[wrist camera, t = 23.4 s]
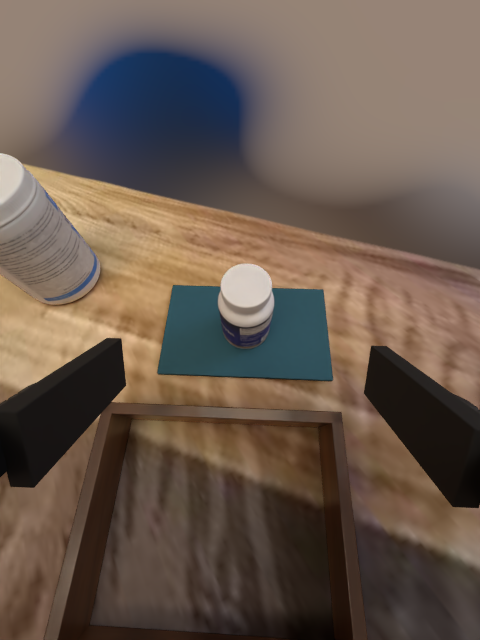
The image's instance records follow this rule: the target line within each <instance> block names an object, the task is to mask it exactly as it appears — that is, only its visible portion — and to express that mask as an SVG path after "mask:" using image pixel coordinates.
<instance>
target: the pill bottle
mask: <svg viewBox="0 0 480 640" xmlns="http://www.w3.org/2000/svg"><path fill="white" fill-rule="evenodd" d="M220 286H221V291H220V293H219V296H218V308H219V313H220V319H221V324H222V329H223V334H224V336H225V338H226V339H227V341H228V342H229V343H230V344H232V345H233V346H235V347H237V348H241V349H250V348H254V347H257V346H258V345H260V344H261V343H262V342H263V341H264V340H265V339H266V337H267V335H268V333H269V329H270V324H271V319H272V314H273V309H274V296H273V293H272V282H271V278H270V276H269V275H268V273H267V272H266V271H265V270H264V269H262V268H261V267H259V266H257V265H254V264H239V265H236V266H234V267H232V268H230V269H229V270H228V271H227V272H226V273H225V274H224V276H223V277H222V280H221V285H220Z"/></svg>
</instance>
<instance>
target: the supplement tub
mask: <svg viewBox="0 0 480 640" xmlns="http://www.w3.org/2000/svg"><path fill="white" fill-rule="evenodd" d="M0 274H1V275H2V276H4V277H5V278H6V279H8V280H9V281H11V282H12V283H14V284H15V285H16V286H18V287H19V288H21V289H22V290H24V291H25V292H26V293H28V294H29V295H31V296H32V297H34V298H35V299H37V300H38V301H40V302H42V303H46V304H51V305H58V304H66V303H70V302H73V301H75V300H77V299H79V298H81V297H83V296H84V295H85V294H87V293H88V292H89V291H90V290H91V289H92V288H93V287H94V285H95V284H96V282H97V280H98V278H99V275H100V263H99V260H98V258H97V256H96V255H95V253H94V252H93V251H92V249H91V248H90V247H89V246H88V244H87V243H86V242H85V241H84V239H83V238H82V237H81V235H80V234H79V233H78V232H77V230H76V229H75V228H74V226H73V225H72V224H71V223H70V221H69V220H68V219H67V218H66V216H65V215H64V214H63V212H62V211H61V210H60V209H59V207H58V206H57V205H56V204H55V202H54V201H53V200H52V198H51V197H50V196H49V195H48V193H47V192H46V191H45V190H44V188H43V187H42V186H41V185H40V183H39V182H38V181H37V180H36V179H35V178H34V177H33V175H32V174H31V173H30V172H29V171H28V170H26V168H25V167H24V166H23V165H22V164H21V163H20V161H18V160H17V159H16V158H14V157H12V156H10V155H6V154H2V153H0Z"/></svg>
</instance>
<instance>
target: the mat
mask: <svg viewBox="0 0 480 640" xmlns="http://www.w3.org/2000/svg"><path fill="white" fill-rule="evenodd" d="M220 291H221V287H216V286H182V285H173V288H172V294H171V299H170V305H169V310H168V316H167V322H166V327H165V333H164V338H163V344H162V349H161V355H160V361H159V366H158V372H157V373H158V374H164V375H189V376H215V377H240V378H265V379H290V380H316V381H332V380H333V376H332V367H331V357H330V348H329V339H328V330H327V320H326V311H325V302H324V292H323V290H317V289H283V288H272V293H273V296H274V309H273V314H272V319H271V324H270V329H269V333H268V335H267V337H266V339H265V340H264V341H263V342H262V343H261V344H260V345H258V346H257V347H254V348H250V349H241V348H237V347H235V346H233V345H232V344H230V343H229V342H228V341H227V339H226V338H225V336H224V334H223V329H222V324H221V319H220V313H219V308H218V296H219V293H220Z"/></svg>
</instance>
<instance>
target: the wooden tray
mask: <svg viewBox="0 0 480 640" xmlns="http://www.w3.org/2000/svg"><path fill="white" fill-rule="evenodd" d="M132 419H140V420H162V421H184V422H207V423H229V424H252V425H274V426H296V427H318V434H319V446H320V459H321V472H322V485H323V498H324V511H325V524H326V536H327V549H328V562H329V575H330V588H331V601H332V614H333V626H334V639H335V640H368V639H367V630H366V621H365V613H364V604H363V595H362V587H361V578H360V570H359V561H358V552H357V544H356V535H355V526H354V518H353V509H352V500H351V492H350V483H349V474H348V466H347V457H346V448H345V440H344V431H343V422H342V413H341V412H326V411H303V410H279V409H256V408H233V407H209V406H186V405H163V404H140V403H116V402H111V403H110V404H109V405H108V406H107V407H106V408H105V409H104V410H103V411H102V413H101V416H100V420H99V424H98V427H97V431H96V435H95V439H94V443H93V447H92V451H91V455H90V459H89V463H88V467H87V471H86V475H85V479H84V482H83V486H82V490H81V494H80V498H79V502H78V506H77V510H76V514H75V518H74V522H73V526H72V530H71V534H70V537H69V541H68V545H67V549H66V553H65V557H64V561H63V565H62V569H61V573H60V577H59V581H58V585H57V589H56V592H55V596H54V600H53V604H52V608H51V612H50V616H49V620H48V624H47V628H46V632H45V636H44V640H300V639H285V638H270V637H255V636H241V635H226V634H211V633H196V632H181V631H167V630H152V629H137V628H122V627H108V626H93V625H90V620H91V615H92V610H93V605H94V600H95V596H96V591H97V586H98V581H99V576H100V571H101V566H102V561H103V557H104V552H105V547H106V542H107V537H108V532H109V527H110V523H111V518H112V513H113V508H114V503H115V498H116V493H117V488H118V484H119V479H120V474H121V469H122V464H123V459H124V454H125V450H126V445H127V440H128V435H129V430H130V425H131V420H132Z"/></svg>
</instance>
